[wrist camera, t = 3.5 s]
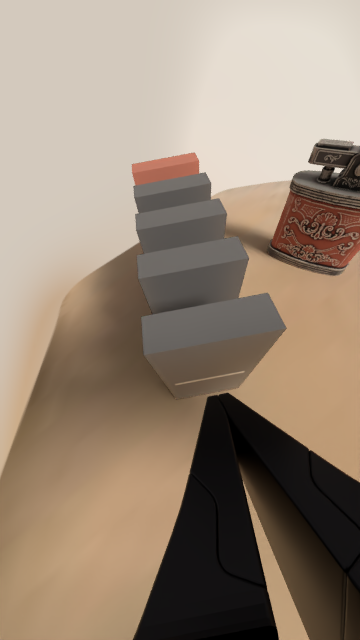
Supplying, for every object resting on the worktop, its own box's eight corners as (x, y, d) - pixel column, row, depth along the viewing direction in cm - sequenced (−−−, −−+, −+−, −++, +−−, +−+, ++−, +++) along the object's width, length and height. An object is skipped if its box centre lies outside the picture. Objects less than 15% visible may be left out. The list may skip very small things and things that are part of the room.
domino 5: (238, 388, 15) (286, 328, 7) (176, 399, 15) (143, 355, 7) (232, 368, 16) (267, 292, 7) (173, 379, 16) (141, 316, 7)
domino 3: (215, 313, 19) (227, 213, 10) (165, 322, 19) (136, 230, 10) (211, 300, 20) (219, 198, 11) (164, 309, 20) (135, 214, 11)
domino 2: (207, 286, 21) (211, 183, 12) (162, 295, 21) (134, 197, 12) (203, 276, 22) (205, 172, 13) (160, 284, 22) (133, 185, 13)
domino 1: (199, 264, 23) (198, 160, 14) (158, 271, 23) (132, 173, 14) (197, 255, 23) (194, 152, 15) (157, 262, 23) (131, 164, 15)
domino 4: (225, 346, 17) (249, 258, 8) (170, 357, 17) (138, 279, 8) (220, 330, 18) (237, 236, 9) (167, 340, 18) (136, 255, 9)
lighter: (347, 261, 21) (450, 139, 12) (339, 281, 19) (448, 161, 11) (273, 239, 24) (314, 128, 15) (262, 255, 22) (300, 144, 14)
